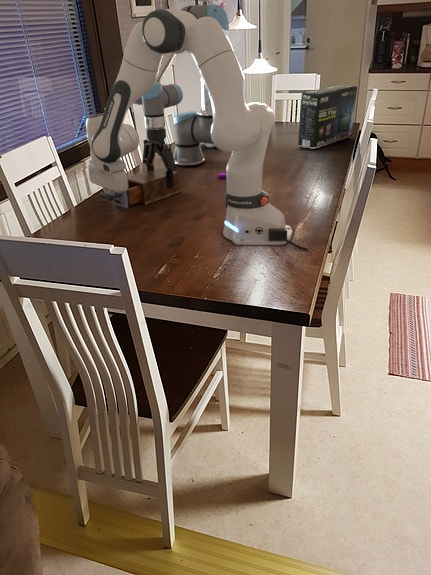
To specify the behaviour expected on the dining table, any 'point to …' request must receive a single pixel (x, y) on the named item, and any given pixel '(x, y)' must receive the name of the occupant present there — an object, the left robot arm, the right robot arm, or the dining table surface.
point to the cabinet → (155, 185)
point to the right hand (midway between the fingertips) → (110, 199)
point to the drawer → (126, 195)
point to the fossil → (208, 145)
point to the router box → (326, 115)
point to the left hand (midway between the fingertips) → (160, 184)
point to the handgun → (222, 175)
